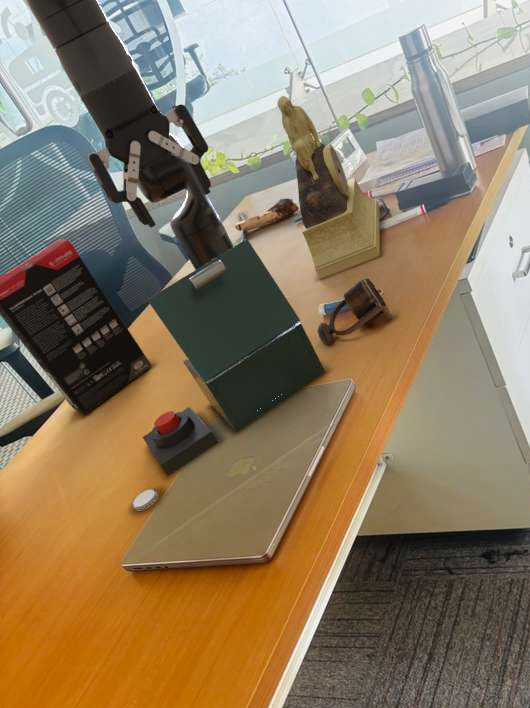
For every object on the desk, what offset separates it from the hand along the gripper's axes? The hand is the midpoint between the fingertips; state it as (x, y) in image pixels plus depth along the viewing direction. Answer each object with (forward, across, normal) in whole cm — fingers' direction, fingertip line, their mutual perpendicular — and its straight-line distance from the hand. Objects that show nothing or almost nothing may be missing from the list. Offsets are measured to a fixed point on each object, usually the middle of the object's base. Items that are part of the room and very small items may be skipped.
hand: (179, 209), depth 91 cm
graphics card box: (+31, +22, -40) cm, 55 cm away
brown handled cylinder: (+30, -17, -3) cm, 35 cm away
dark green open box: (+30, +2, -2) cm, 30 cm away
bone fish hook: (+32, -35, -84) cm, 96 cm away
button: (+26, +18, -2) cm, 32 cm away
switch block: (+30, +18, -2) cm, 35 cm away
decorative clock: (+31, -36, -39) cm, 62 cm away
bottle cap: (+30, +27, +7) cm, 40 cm away
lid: (+14, +2, +1) cm, 15 cm away
